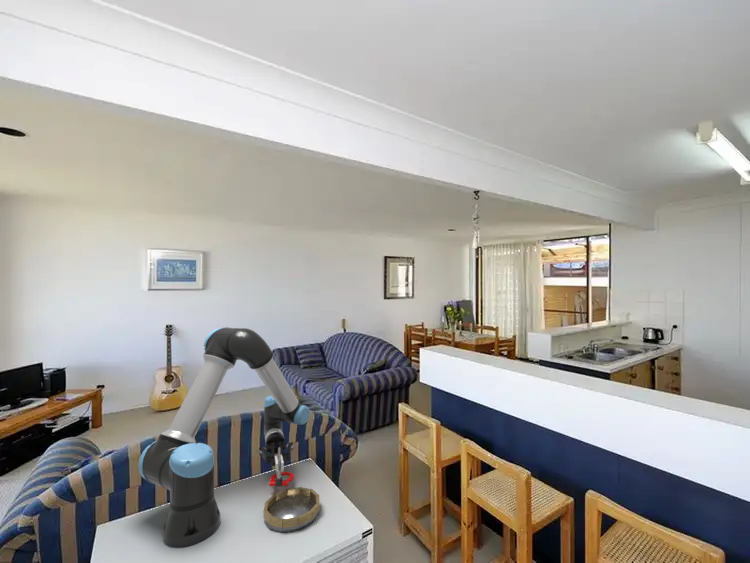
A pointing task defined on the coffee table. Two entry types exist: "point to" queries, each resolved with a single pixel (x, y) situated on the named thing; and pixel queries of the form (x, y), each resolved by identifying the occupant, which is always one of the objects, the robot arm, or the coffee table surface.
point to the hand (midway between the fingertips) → (279, 467)
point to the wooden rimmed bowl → (291, 509)
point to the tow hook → (279, 479)
